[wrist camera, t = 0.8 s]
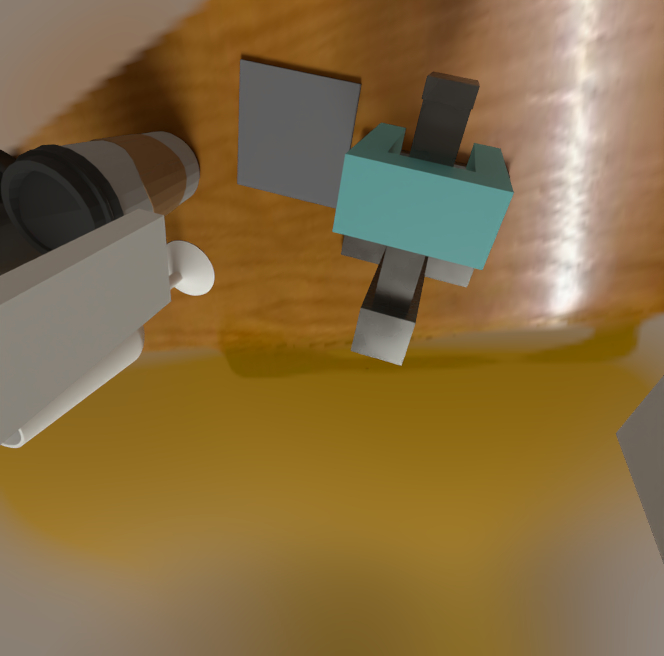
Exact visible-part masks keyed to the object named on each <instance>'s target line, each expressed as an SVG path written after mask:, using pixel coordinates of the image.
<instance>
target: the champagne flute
mask: <svg viewBox="0 0 664 656" xmlns="http://www.w3.org/2000/svg"><path fill="white" fill-rule="evenodd" d="M166 246H167V258H168V270H169V283H170V290H171V289H172V288H173V287H175V288H177V289H178V290H180V291H181V292H184V293H186V294H189V295H196V296H197V295H202V294H205V293H207V292H208V291H209V290H210V289H211V288H212V286H213V284H214V270H213V267H212V264H211V262H210V261H209V259H208V257H207V256H206V255H205V254H204V253H203V252H202V251H201V250H200V249H199V248H198V247H196V246H195V245H193V244H191V243H188V242H185V241H172V242H170V243H168V244H166ZM143 345H144V327H143V325H142V326H141V327H140V328H138V329H137V330H136V331H135V332H134V333H133V334H131V335H130V336H129V337H128V338H127V339H125V340H124V341H123V342H122V343H121V344H119V345H118V346H117V347H116V348H115V349H114V350H112V351H111V352H110V353H109V354H108V355H106V356H105V357H104V358H103V359H102V360H101V361H99V362H98V363H97V364H96V365H95V366H93V367H92V368H91V369H90V370H89V371H87V372H86V373H85V374H84V375H83V376H82V377H80V378H79V379H78V380H77V381H76V382H74V383H73V384H72V385H71V386H70V387H68V388H67V389H66V390H65V391H64V392H63V393H61V394H60V395H59V396H58V397H57V398H55V399H54V400H53V401H52V402H51V403H50V404H48V405H47V406H46V407H45V408H44V409H42V410H41V411H40V412H39V413H38V414H36V415H35V416H34V417H33V418H32V419H31V420H29V421H28V422H27V423H26V424H25V425H23V426H22V427H21V428H20V429H19V430H17V431H16V432H15V433H14V434H13V435H12V436H10V437H9V438H8V439H7V440H6V441H4V442H3V443H2V444H1V445H3V446H6V447H11V448H18V447H21V446H22V445H24V444H25V443H26V442H27V441H29V440H30V439H31V438H33V437H34V436H35V435H37V434H38V433H39V432H41V431H42V430H43V429H45V428H46V427H47V426H49V425H50V424H51V423H53V422H54V421H55V420H57V419H58V418H59V417H61V416H62V415H63V414H65V413H66V412H67V411H69V410H70V409H71V408H72V407H74V406H75V405H77V404H78V403H79V402H81V401H82V400H83V399H84V398H86V397H87V396H88V395H90V394H91V393H92V392H94V391H95V390H96V389H98V388H99V387H100V386H102V385H103V384H104V383H106V382H107V381H108V380H110V379H111V378H112V377H114V376H115V375H116V374H118V373H119V372H120V371H122V370H123V369H124V368H125V367H127V366H128V365H130V364H131V363H132V362H134V361H135V360H136V359H137V358H138V357H139V355H140V354H141V352H142V349H143Z"/></svg>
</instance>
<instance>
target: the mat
mask: <svg viewBox="0 0 664 656" xmlns="http://www.w3.org/2000/svg"><path fill="white" fill-rule="evenodd" d="M360 89H361V84H358V83H353V82H349V81H344V80H339V79H334V78H329V77H325V76H320V75H315V74H310V73H305V72H300V71H296V70H291V69H286V68H281V67H276V66H272V65H267V64H262V63H257V62H252V61H248V60H243V59H241V60H240V95H239V138H238V182H237V184H240V185H244V186H248V187H252V188H256V189H260V190H264V191H268V192H272V193H276V194H280V195H284V196H288V197H292V198H296V199H300V200H304V201H308V202H312V203H316V204H320V205H324V206H328V207H332V208H337V202H338V195H339V189H340V183H341V177H342V171H343V165H344V159H345V154H346V153H347V152H348V151H349V150H350V148H351V143H352V137H353V131H354V125H355V119H356V113H357V107H358V101H359V95H360Z"/></svg>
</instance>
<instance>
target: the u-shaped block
mask: <svg viewBox="0 0 664 656" xmlns="http://www.w3.org/2000/svg"><path fill="white" fill-rule="evenodd" d="M405 131H406V128H403V127H399V126H394V125H390V124H385V123H380V124H379V125H378V126H377V127H376V128H375V129H373V130H372V131H371V132H370V133H369V134H368V135H366V136H365V137H364V138H363V139H362V140H361V141H360V142H358V143H357V144H356V145H355V146H354V147H353V148H351V149H350V150H349V151H348V152H347V153H346V154H345V159H344V165H343V171H342V177H341V183H340V189H339V195H338V202H337V208H336V214H335V220H334V226H333V232H336V233H340V234H344V235H348V236H351V237H355V238H359V239H363V240H367V241H371V242H375V243H379V244H383V245H387V246H390V247H394V248H398V249H402V250H406V251H410V252H414V253H418V254H422V255H426V256H429V257H433V258H437V259H441V260H445V261H449V262H453V263H457V264H461V265H465V266H468V267H472V268H476V269H480V270H483V267H484V265H485V262H486V260H487V257H488V255H489V253H490V250H491V248H492V245H493V243H494V240H495V238H496V235H497V233H498V230H499V228H500V225H501V223H502V221H503V218H504V216H505V213H506V211H507V208H508V206H509V203H510V201H511V198H512V196H513V193H514V192H513V188H512V185H511V182H510V178H509V175H508V172H507V168H506V165H505V162H504V159H503V155H502V152H501V149H499V148H495V147H490V146H486V145H481V144H477V143H474V145H473V148H472V151H471V154H470V158H469V161H468V164H467V167H466V170H464V169H460V168H455V167H451V166H446V165H442V164H438V163H433V162H429V161H424V160H420V159H416V158H411V157H407V156H402V155H400V152H401V148H402V143H403V139H404V135H405Z"/></svg>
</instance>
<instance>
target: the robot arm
mask: <svg viewBox="0 0 664 656" xmlns="http://www.w3.org/2000/svg"><path fill="white" fill-rule="evenodd" d="M15 160H16V159H15V158H13V157H12V156H10V155H9V154H7V153H6V152H4V151H2V150H0V445H1V444H2V443H3V442H4V441H6V440H7V439H8V438H9V437H10V436H12V435H13V434H14V433H15V432H16V431H17V430H19V429H20V428H21V427H22V426H23V425H25V424H26V423H27V422H28V421H29V420H31V419H32V418H33V417H34V416H35V415H36V414H38V413H39V412H40V411H41V410H42V409H44V408H45V407H46V406H47V405H48V404H50V403H51V402H52V401H53V400H54V399H55V398H57V397H58V396H59V395H60V394H61V393H63V392H64V391H65V390H66V389H67V388H68V387H70V386H71V385H72V384H73V383H74V382H76V381H77V380H78V379H79V378H80V377H82V376H83V375H84V374H85V373H86V372H87V371H89V370H90V369H91V368H92V367H93V366H95V365H96V364H97V363H98V362H99V361H101V360H102V359H103V358H104V357H105V356H106V355H108V354H109V353H110V352H111V351H112V350H114V349H115V348H116V347H117V346H118V345H119V344H121V343H122V342H123V341H124V340H125V339H127V338H128V337H129V336H130V335H131V334H133V333H134V332H135V331H136V330H137V329H138V328H140V327H141V326H142V325H143V324H144V323H146V322H147V321H148V320H149V319H150V318H152V317H153V316H154V315H155V314H156V313H157V312H159V311H160V310H161V309H162V308H163V307H165V306H166V305H167V304H168V303H169V302H170V301H171V295H170V283H169V270H168V258H167V246H166V233H165V221H164V215H161V214H157V213H153V212H150V211H146V210H142V209H137V210H135V211H133V212H131V213H128V214H126V215H124V216H122V217H120V218H118V219H116V220H114V221H112V222H110V223H108V224H106V225H104V226H102V227H100V228H98V229H95V230H93V231H91V232H89V233H87V234H85V235H83V236H81V237H79V238H77V239H75V240H73V241H71V242H69V243H67V244H65V245H62V246H60V247H58V248H56V249H54V250H52V251H50V252H48V253H46V254H44V255H42V254H41V253H40V252H38V251H37V250H36V249H34V248H33V247H32V246H31V245H30V244H29V243H28V242H27V241H26V240H25V239H24V238H23V237H22V236H21V235H20V233H19V232H18V230H17V229H16V228H15V226H14V225H13V223H12V222H11V220H10V218H9V216H8V214H7V212H6V210H5V206H4V203H3V200H2V196H1V180H2V176H3V173H4V172H5V170H6V169H7V168H8V166H9V165H11V164H13V163H14V162H15ZM616 435H617V438H618V441H619V444H620V446H621V449H622V452H623V454H624V457H625V460H626V463H627V465H628V468H629V471H630V473H631V476H632V479H633V481H634V484H635V487H636V489H637V492H638V495H639V498H640V500H641V503H642V506H643V509H644V511H645V514H646V517H647V519H648V522H649V525H650V527H651V530H652V533H653V536H654V538H655V541H656V544H657V546H658V549H659V552H660V555H661V557H662V560H663V563H664V376H663V377H662V378H661V379H660V381H659V382H658V383H657V384H656V386H655V387H654V388H653V389H652V390H651V391H650V393H649V394H648V395H647V396H646V398H645V399H644V400H643V401H642V402H641V404H640V405H639V406H638V407H637V408H636V410H635V411H634V412H633V413H632V415H631V416H630V417H629V418H628V419H627V421H626V422H625V423H624V424H623V425H622V427H621V428H620V429H619V430H618V432H617V433H616Z"/></svg>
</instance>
